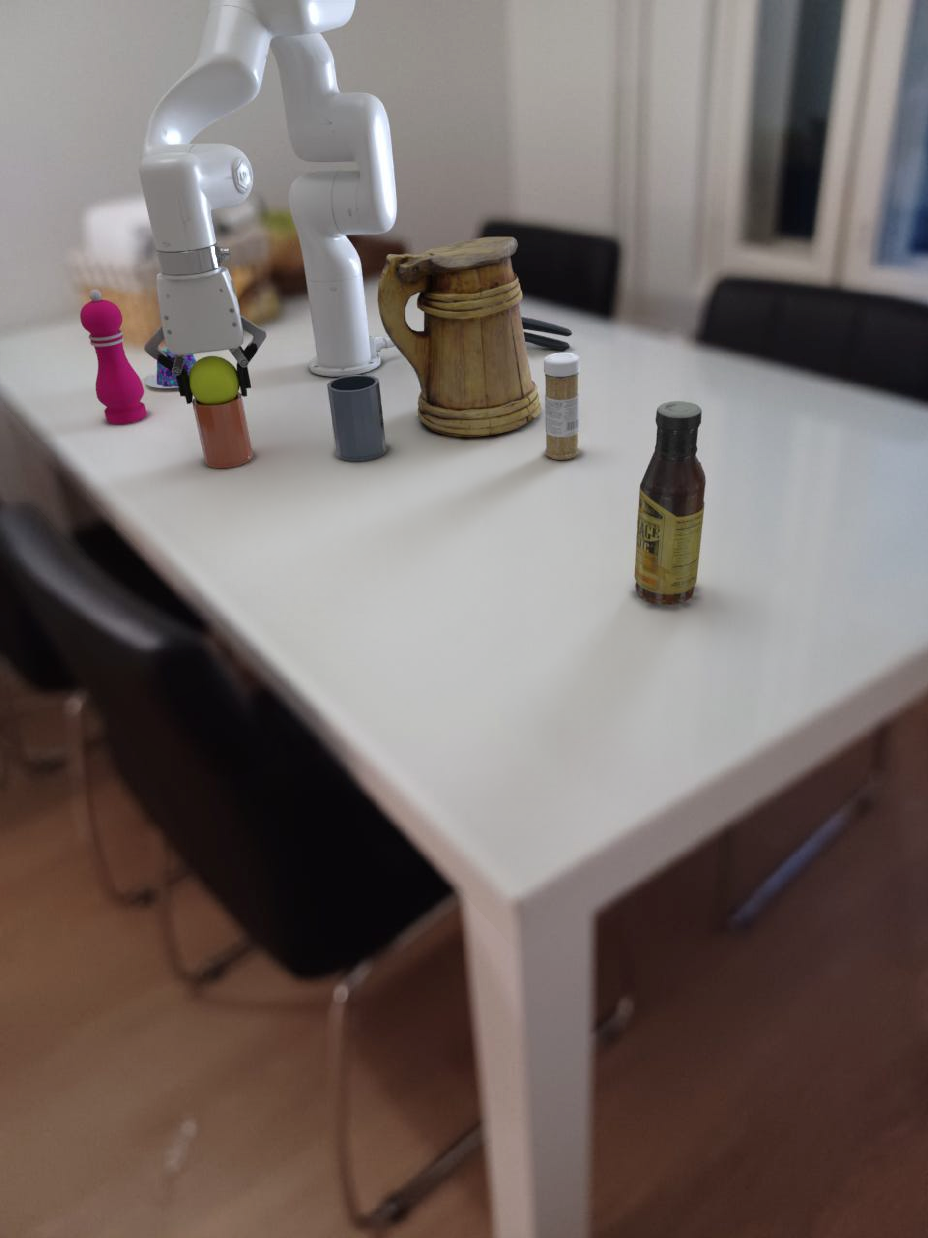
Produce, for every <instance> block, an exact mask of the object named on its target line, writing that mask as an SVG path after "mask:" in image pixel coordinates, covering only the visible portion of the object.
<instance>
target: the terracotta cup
mask: <svg viewBox="0 0 928 1238" xmlns="http://www.w3.org/2000/svg"><path fill="white" fill-rule="evenodd" d="M191 404H192V409H193V412H194V417H195V422H196V426H197V432H198V435H199V440H200V445H201V449H202V453H203V458H204V462H205V465H206V466H208V467H210V468H213V469H232V468H237V467H240V466H243V465H245V464H247V463H249V462H250V461H251V460H252V459H253V457H254V455H253V449H252V444H251V443H252V442H251V438H250V432H249V426H248V421H247V415H246V411H245V405H244V399H243V396H242V395H241V392H240V391H238V394H237V396H236V397H235V399H234V400H233V401H230V402H228V403H224V404H219V405H204V404H202V403H200V402H199V401H198V400H197V399H196V398H195V397H194V398H193V400H192V402H191Z"/></svg>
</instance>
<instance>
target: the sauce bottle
mask: <svg viewBox="0 0 928 1238" xmlns="http://www.w3.org/2000/svg"><path fill="white" fill-rule="evenodd" d="M702 413H703V411H702V408H701V407H700V406H699V405H698V404H696V403H695V402H689V401H684V400H673V401H667V402H664V403H662V404H660V405H659V406H658V407H657V409H656V415H655V424H656V438H655V446H654V451H653V454H652V456H651V458H650V460H649V462H648V465H647V467H646V470H645V472H644V475H643V477H642V479H641V482H640V484H639V490H638V491H639V492H638V493H639V494H638V507H637V508H638V509H637V522H636V523H637V524H636V537H635V539H636V541H635V543H636V544H635V560H634V575H633V576H634V580H635V585H634V586H635V591H636V593H637V594H638V595H639V597H641V598H642V599H643V600H646V601H647V602H648V603H651V604H653V605H668V606H669V605H678V604H682V603H684V602H687V601H688V600H690V599H691V598H692V597H693V594H694V592H695V586H696V584H697V579H698V571H699V562H700V554H701V553H700V552H701V542H702V533H703V523H704V513H705V505H706V504H705V492H706V485H707V484H706V483H707V480H706V478H707V477H706V474H705V470H704V468H703V466H702V463H701V461H700V460H699V459H698V457H697V452H698V445H697V444H698V435H699V427H700V426H701V424H702Z"/></svg>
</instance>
